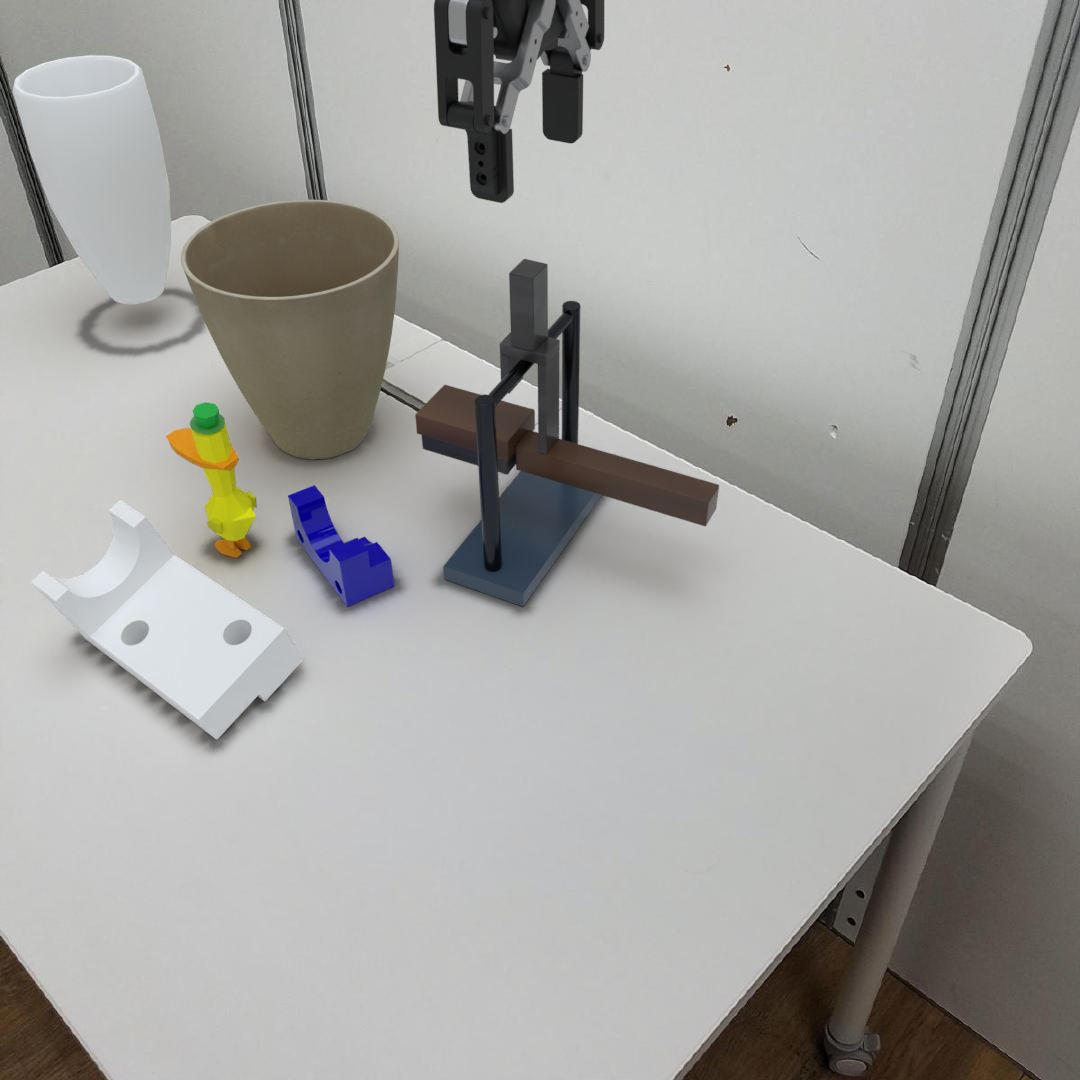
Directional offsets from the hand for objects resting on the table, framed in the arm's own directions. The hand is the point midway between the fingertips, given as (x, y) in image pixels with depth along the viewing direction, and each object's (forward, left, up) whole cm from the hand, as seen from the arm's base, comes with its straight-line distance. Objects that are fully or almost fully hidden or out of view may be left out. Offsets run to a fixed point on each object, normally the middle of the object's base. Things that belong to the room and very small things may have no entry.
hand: (529, 167), depth 61 cm
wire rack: (0, 0, -27) cm, 27 cm away
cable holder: (+10, +9, -27) cm, 30 cm away
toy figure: (+18, +11, -27) cm, 34 cm away
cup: (+44, -10, -27) cm, 53 cm away
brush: (-2, 0, -21) cm, 21 cm away
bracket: (+14, +21, -27) cm, 37 cm away
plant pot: (+20, -3, -27) cm, 34 cm away
